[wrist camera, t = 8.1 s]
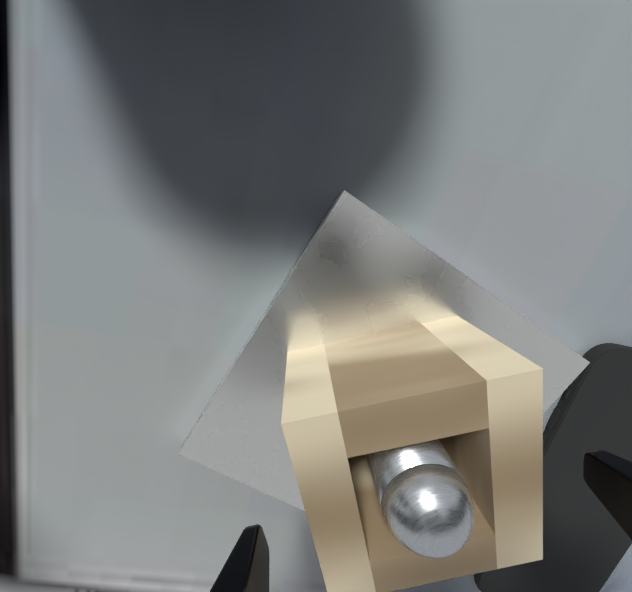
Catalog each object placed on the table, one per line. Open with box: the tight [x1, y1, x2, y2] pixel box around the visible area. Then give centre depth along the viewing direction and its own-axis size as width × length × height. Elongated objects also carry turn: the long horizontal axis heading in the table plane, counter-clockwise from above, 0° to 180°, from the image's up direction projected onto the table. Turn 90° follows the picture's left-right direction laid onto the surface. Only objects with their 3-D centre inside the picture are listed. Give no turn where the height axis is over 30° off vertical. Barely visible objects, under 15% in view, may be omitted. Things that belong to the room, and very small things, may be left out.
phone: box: [474, 343, 632, 592], centre depth 15 cm, size 7×1×15 cm
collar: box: [281, 316, 543, 592], centre depth 10 cm, size 6×6×4 cm
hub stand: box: [178, 190, 590, 559], centre depth 10 cm, size 12×12×6 cm
